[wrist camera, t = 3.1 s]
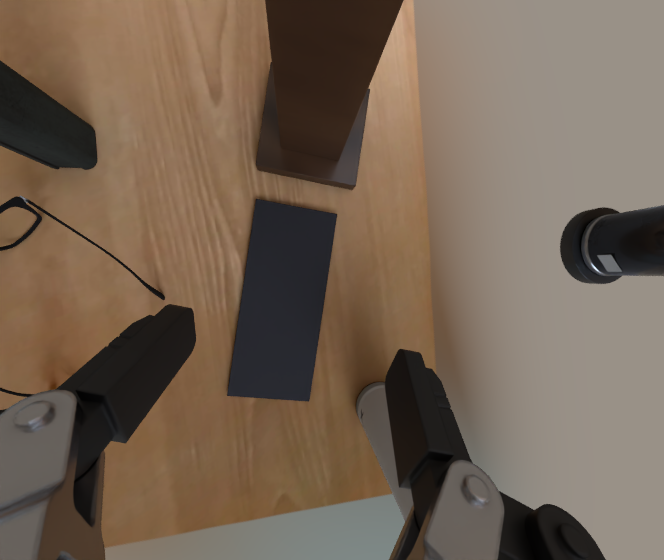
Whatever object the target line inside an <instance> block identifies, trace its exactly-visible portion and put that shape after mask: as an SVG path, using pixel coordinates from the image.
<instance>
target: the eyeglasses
mask: <svg viewBox="0 0 664 560" xmlns="http://www.w3.org/2000/svg"><path fill="white" fill-rule="evenodd" d="M26 203H29V204H31V205H33V206H34V207H36V208H37V209H39V210H40V211H42V212H44V213H45V214H47V215H48V216H50V217H51V218H53V219H55V220H56V221H58V222H59V223H61V224H62V225H64V226H66V227H67V228H69V229H70V230H72V231H73V232H75V233H76V234H78V235H80V236H81V237H83V238H84V239H86V240H87V241H89V242H90V243H92V244H93V245H95V246H97V247H98V248H100V249H101V250H103V251H104V252H105V253H107V254H108V255H110V256H111V257H112V258H114V259H115V260H116V261H118V262H119V263H120V264H121V265H123V266H124V267H125V268H126V269H127V270H128V271H130V272H131V273H132V274H133V275H134V276H135V277H136V278H137V279H138V280H139V281H140V282H141V283H142V284H143V285H144V286H145V287H146V288H148V289H149V290H150V291H151V292H152V293H154V294H155V295H157V296H158V297H160V298H161V299H162V300H165V297H164V295H163V294H162V293H161V292H159V291H158V290H156V289H154V288H153V287H151V286H150V285H148V284H147V283H145V282H144V281H143V280H142V279H141V278H140V277H138V276H137V275H136V274H135V273H134V272H133V271H132V270H131V269H130V268H128V267H127V266H126V265H125V264H123V263H122V262H121V261H120V260H118V259H117V258H116V257H114V256H113V255H112V254H110V253H109V252H107V251H106V250H105V249H103V248H102V247H100V246H99V245H97V244H96V243H94V242H93V241H91V240H90V239H88V238H86V237H85V236H83V235H82V234H80V233H79V232H77V231H76V230H74V229H73V228H71V227H70V226H68V225H67V224H65V223H63V222H62V221H60V220H59V219H57V218H56V217H54V216H53V215H51V214H50V213H48V212H47V211H45V210H43V209H42V208H40V207H39V206H37V205H36V204H34V203H33V202H31V201H30V200H28V199H26V198H24V197H22V196H19V197H14V198H12V199H10V200H9V201H7V202H6V203H4V204H2V205H1V206H0V214H1V213H2V212H3V211H5V210H6V209H8V208H11V207H20V208H24V209H26V210H28V211H30V212H32V213H33V214H35V215H36V216H37V220H36V221H35V223H34V224H33V226H32V227H31V228H30V229H29V230H28V231H27V233H26V234H24V235H23V236H22V237H21V238H20V239H19V240H17V241H16V242H15V243H13V244H11V245H8V246H4V247H0V251H2V250H7V249H10V248H13V247H15V246H16V245H18V244H19V243H21V242H22V241H23V240H24V239H26V238H27V237H28V236H29V235H30V234H31V233H32V232H33V231H34V230H35V228H36V227H37V226H38V224H39V223H40V222H41V220H42V217H41V216H40V215H39V214H38V213H37V212H36V211H35V210H34V209H32V208H31V207H30V206H28V205H27V204H26ZM0 391H2V392H6V393H9V394H13V395H17V396H24V397H29V396H32V395H34V394H22V393H16V392H12V391H8V390H5V389H2V388H0Z"/></svg>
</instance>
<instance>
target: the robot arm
mask: <svg viewBox="0 0 664 560" xmlns="http://www.w3.org/2000/svg"><path fill="white" fill-rule="evenodd" d="M580 253H581V257H582V260H583V262H584V264H585V265H586V267H587V268H588V269H589V270H590V271H591V272H593V273H594V274H597V275H600V276H616V275H630V276H632V275H633V276H664V205H663V206H657V207H651V208H646V209H640V210H634V211H629V212H624V213H618V214H608V215H603V216H599V217H596V218H594V219H593V220H591V221H590V222H589V223H588V224H587V226H586V227H585V229H584V231H583V233H582V236H581V240H580ZM195 342H196V333H195V323H194V313H193V310H192V309H191V308H187V307H182V306H177V305H172V304H169V305H166V306H165V307H164V308H163V309H162V310H161V311H160V312H158V313H157V314H156V315H155V316H152V315H148V316H146V317H144V318H142V319H140V320H138V321H136V322H134V323H132V324H131V325H130V326H129V327H128V328H127V329H126V330H124V331H123V332H122V333H121V334H120V336H119V337H116V338H115V339H114V340H113V341H112V342H110V343H109V345H108V347H105V348H104V349H102V350H101V351H100V352H99V353H98V354H97V355H95V356H94V357H93V358H92V359H91V360H90V361H88V362H87V363H86V364H85V365H84V366H83V367H82V368H80V369H79V370H78V371H77V372H76V373H75V374H73V375H72V376H71V377H70V378H69V379H68V380H67V381H65V382H64V383H63V384H62V385H61V386H59V387H58V388H57V389H55V390H49V391H45V392H41V393H37V394H34V395H32V396H29V397H27V398H25V399H23V400H21V401H19V402H17V403H16V404H14V405H12V406H11V407H10V408H8V409H5V410H0V560H105V549H104V543H103V538H102V531H101V520H102V502H103V485H104V468H105V452H104V449H105V448H106V446H107V445H108V444H109V442H110V441H115V442H121V443H126V442H127V441H128V440H129V438H130V437H131V435H132V434H133V433H134V431H135V430H136V429H137V427H138V426H139V424H140V423H141V422H142V420H143V419H144V418H145V416H146V415H147V413H148V412H149V411H150V409H151V408H152V407H153V405H154V404H155V402H156V401H157V400H158V398H159V397H160V396H161V394H162V393H163V391H164V390H165V389H166V387H167V386H168V385H169V383H170V382H171V380H172V379H173V378H174V376H175V375H176V374H177V372H178V371H179V369H180V368H181V367H182V365H183V364H184V363H185V361H186V360H187V358H188V357H189V356H190V354H191V353H192V351H193V349H194V346H195ZM385 393H386V400H387V407H388V414H389V421H390V428H391V435H392V442H393V449H394V456H395V463H396V470H397V478H398V485H399V488H405V489H411V493H412V499H413V506H412V508H411V510H410V512H409V515H408V517H407V519H406V522H405V524H404V526H403V529H402V531H401V533H400V535H399V538H398V540H397V542H396V545H395V547H394V549H393V552H392V554H391V556H390V559H389V560H606V559H605V558H604V556H603V554H602V552H601V551H600V549H599V548H598V546H597V544H596V542H595V541H594V540H593V538H592V537H591V535H590V534H589V533H588V532H587V530H586V529H585V528H584V527H583V526H582V525H581V524H580V523H579V522H578V521H577V520H576V519H575V518H574V517H573V516H571V515H570V514H569V513H567V512H566V511H564V510H563V509H561V508H559V507H557V506H555V505H551V504H544V505H542V506H541V507H539V508H537V509H536V510H533V509H531V508H529V507H527V506H526V505H524V504H522V503H520V502H518V501H516V500H515V499H513V498H511V497H509V496H507V495H505V494H503V493H501V492H500V491H498V489H497V487H496V486H495V484H494V483H493V481H492V480H491V479H490V477H489V476H488V475H487V474H486V473H485V472H484V471H483V470H482V469H481V468H479V467H478V466H476V465H475V464H473V463H472V461H471V459H470V457H469V454H468V452H467V449H466V446H465V444H464V441H463V439H462V436H461V433H460V430H459V428H458V425H457V422H456V420H455V417H454V414H453V412H452V410H451V409H450V407H451V406H450V404H449V402H448V398H446V393H445V390H444V388H443V385H442V382H441V381H440V379H439V378H438V377H437V375H436V374H435V373H434V371H433V370H432V369H429V368H426V367H425V364H424V361H423V358H422V355H421V354H420V353H419V352H414V351H409V350H404V349H399V350H398V352H397V354H396V356H395V358H394V360H393V362H392V364H391V366H390V368H389V370H388V372H387V375H386V379H385Z"/></svg>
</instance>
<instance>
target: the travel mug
mask: <svg viewBox="0 0 664 560" xmlns="http://www.w3.org/2000/svg"><path fill="white" fill-rule="evenodd" d="M356 411H357V415H358V417H359V419H360V421H361V424H362V426H363V428H364V430H365V433H366V435H367V437H368V439H369V442H370V444H371V446H372V448H373V450H374V453H375V455H376V457H377V459H378V462H379V464H380V466H381V468H382V471H383V473H384V475H385V477H386V480H387V482H388V484H389V486H390V488H391V491H392V493H393V495H394V497H395V500H396V502H397V504H398V506H399V509H400V511H401V513H402V515H403V518H404V520H405V522H406V519H407V517H408V515H409V512H410V510H411V508H412V506H413V499H412V493H411V489H405V488H399V485H398V478H397V470H396V463H395V456H394V449H393V442H392V435H391V428H390V421H389V414H388V407H387V400H386V393H385V382H376V383H372V384H370V385H368V386H367V387H366V388H364V390H363V391H362V392H361V393H360V395H359V397H358V399H357V404H356Z"/></svg>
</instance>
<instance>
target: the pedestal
mask: <svg viewBox="0 0 664 560" xmlns="http://www.w3.org/2000/svg"><path fill="white" fill-rule="evenodd" d="M265 3H266V12H267V22H268V31H269V40H270V50H271V59H272V62H271V65H270V71H269V78H268V85H267V92H266V99H265V106H264V112H263V119H262V126H261V133H260V140H259V146H258V153H257V160H256V166H257V169H258V170H259V171H264V172H269V173H274V174H278V175H283V176H288V177H293V178H298V179H302V180H307V181H312V182H317V183H321V184H326V185H331V186H336V187H341V188H345V189H350V190H353V189H354V187H355V186H356V179H357V173H358V166H359V159H360V153H361V146H362V139H363V133H364V126H365V119H366V113H367V106H368V99H369V93H370V89H368V87H369V85H370V82H371V80H372V77H373V75H374V72H375V70H376V67H377V65H378V62H379V60H380V57H381V55H382V52H383V50H384V47H385V45H386V42H387V40H388V37H389V35H390V32H391V30H392V27H393V25H394V23H395V20H396V18H397V15H398V13H399V10H400V8H401V5H402V3H403V0H265Z"/></svg>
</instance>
